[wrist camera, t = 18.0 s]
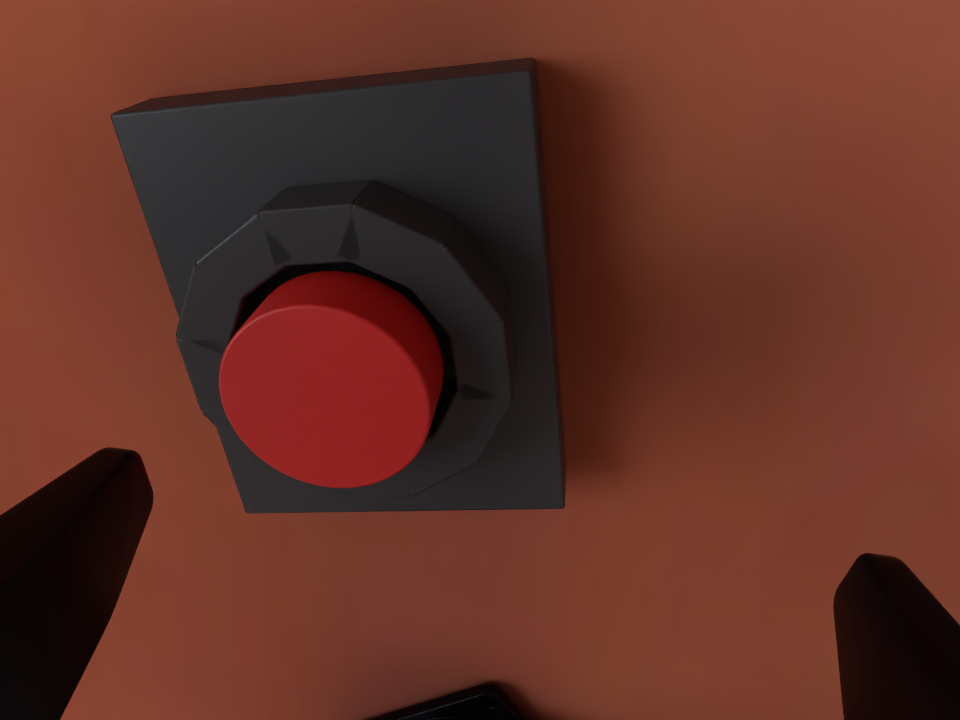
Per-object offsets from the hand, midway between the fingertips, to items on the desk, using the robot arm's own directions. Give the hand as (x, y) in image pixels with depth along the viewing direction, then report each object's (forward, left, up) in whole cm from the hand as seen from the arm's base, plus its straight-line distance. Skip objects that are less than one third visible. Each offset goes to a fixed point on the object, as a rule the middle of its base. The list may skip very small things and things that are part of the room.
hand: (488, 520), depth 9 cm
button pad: (-4, 0, -10) cm, 11 cm away
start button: (-4, 0, -7) cm, 8 cm away
